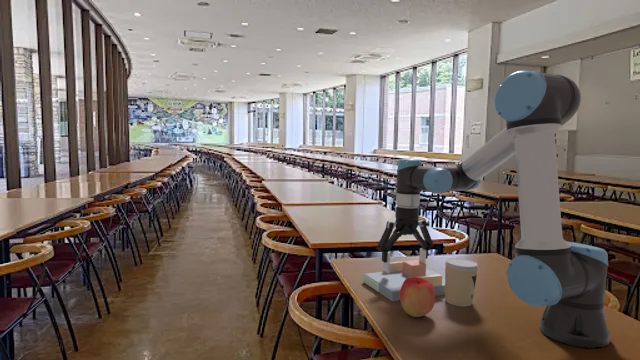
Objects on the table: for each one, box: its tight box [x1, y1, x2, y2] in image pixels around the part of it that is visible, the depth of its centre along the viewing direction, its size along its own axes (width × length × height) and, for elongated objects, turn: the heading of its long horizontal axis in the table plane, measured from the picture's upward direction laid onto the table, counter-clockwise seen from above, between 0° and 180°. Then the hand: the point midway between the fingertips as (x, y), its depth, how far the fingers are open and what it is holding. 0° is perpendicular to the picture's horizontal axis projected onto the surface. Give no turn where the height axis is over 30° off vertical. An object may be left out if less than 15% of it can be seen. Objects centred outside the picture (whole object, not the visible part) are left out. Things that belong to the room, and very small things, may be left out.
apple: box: [400, 277, 436, 318], centre depth 120 cm, size 10×10×10 cm
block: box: [402, 259, 427, 277], centre depth 147 cm, size 6×6×4 cm
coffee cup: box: [444, 257, 479, 308], centre depth 131 cm, size 9×9×12 cm
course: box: [362, 260, 445, 302], centre depth 143 cm, size 18×24×6 cm
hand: (404, 270), depth 146 cm, fingers open, 13 cm apart
